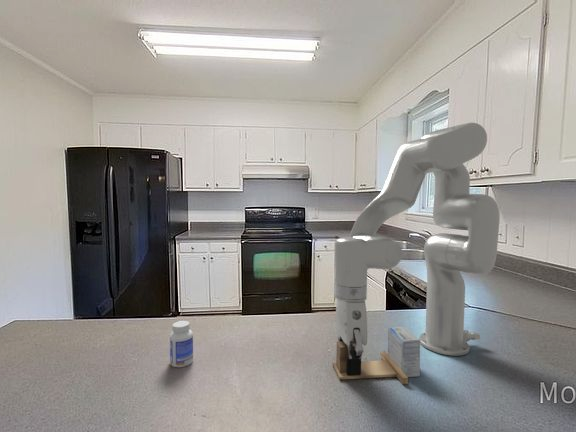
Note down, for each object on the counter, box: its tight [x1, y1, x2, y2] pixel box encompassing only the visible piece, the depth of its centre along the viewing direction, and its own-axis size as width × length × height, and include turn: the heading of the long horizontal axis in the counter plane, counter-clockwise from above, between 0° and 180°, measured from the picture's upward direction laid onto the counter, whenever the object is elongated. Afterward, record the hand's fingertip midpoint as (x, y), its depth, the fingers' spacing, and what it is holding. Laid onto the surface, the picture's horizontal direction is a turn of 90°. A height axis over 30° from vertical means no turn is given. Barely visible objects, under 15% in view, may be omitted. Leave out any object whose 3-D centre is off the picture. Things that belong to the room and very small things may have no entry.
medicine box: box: [387, 326, 421, 378], centre depth 74 cm, size 8×4×9 cm, turn 6°
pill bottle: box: [169, 320, 194, 368], centre depth 75 cm, size 5×5×10 cm
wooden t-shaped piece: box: [332, 340, 409, 385], centre depth 72 cm, size 15×12×7 cm
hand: (348, 365), depth 72 cm, fingers open, 6 cm apart
